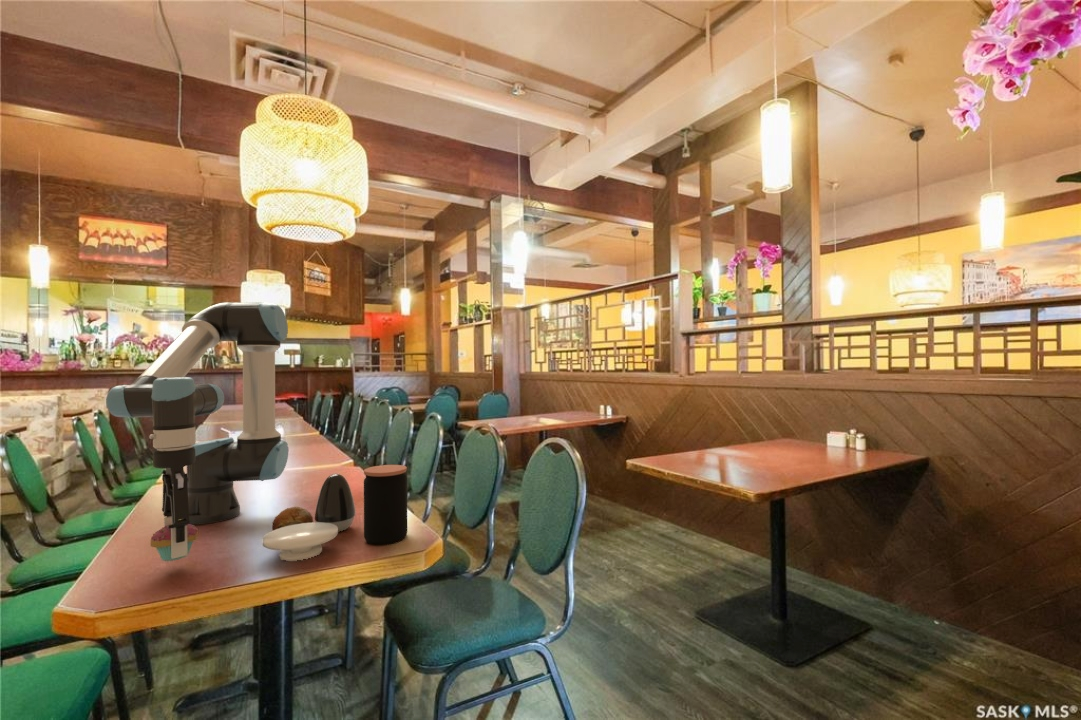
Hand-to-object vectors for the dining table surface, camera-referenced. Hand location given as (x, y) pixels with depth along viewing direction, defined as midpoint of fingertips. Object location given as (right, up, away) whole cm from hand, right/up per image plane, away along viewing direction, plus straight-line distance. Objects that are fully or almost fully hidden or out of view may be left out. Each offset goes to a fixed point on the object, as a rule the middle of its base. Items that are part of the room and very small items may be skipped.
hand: (175, 550), depth 108 cm
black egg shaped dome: (+24, -5, +26) cm, 36 cm away
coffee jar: (+40, -4, +18) cm, 45 cm away
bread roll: (+12, -5, +27) cm, 30 cm away
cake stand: (+23, -4, +8) cm, 25 cm away
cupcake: (0, -2, 0) cm, 2 cm away
